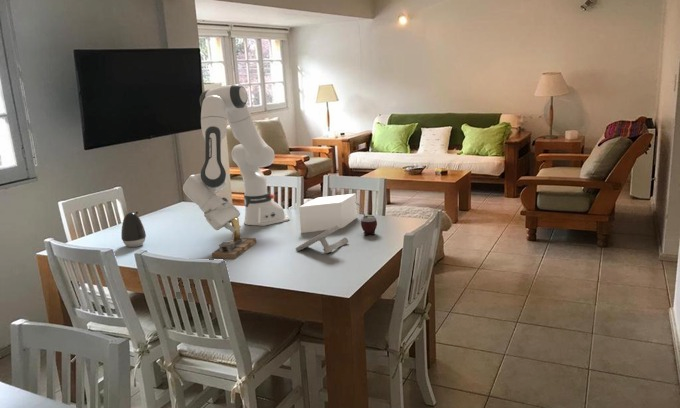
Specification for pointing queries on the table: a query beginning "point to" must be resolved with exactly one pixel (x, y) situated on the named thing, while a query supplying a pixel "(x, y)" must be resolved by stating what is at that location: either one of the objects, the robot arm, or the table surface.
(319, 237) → the door handle
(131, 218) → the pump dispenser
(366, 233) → the mate gourd
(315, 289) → the table surface
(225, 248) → the door and jamb
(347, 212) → the block
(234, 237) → the bolt
